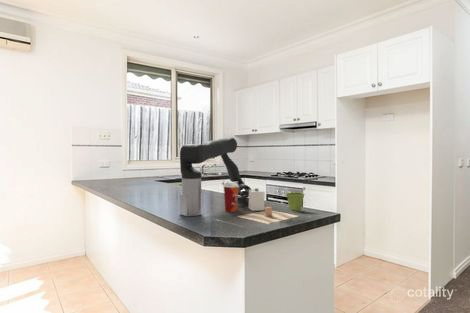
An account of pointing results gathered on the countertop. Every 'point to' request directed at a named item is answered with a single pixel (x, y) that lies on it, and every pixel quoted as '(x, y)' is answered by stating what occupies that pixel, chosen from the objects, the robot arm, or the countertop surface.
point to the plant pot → (295, 201)
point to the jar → (268, 211)
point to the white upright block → (256, 199)
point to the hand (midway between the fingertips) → (250, 194)
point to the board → (267, 220)
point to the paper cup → (231, 196)
